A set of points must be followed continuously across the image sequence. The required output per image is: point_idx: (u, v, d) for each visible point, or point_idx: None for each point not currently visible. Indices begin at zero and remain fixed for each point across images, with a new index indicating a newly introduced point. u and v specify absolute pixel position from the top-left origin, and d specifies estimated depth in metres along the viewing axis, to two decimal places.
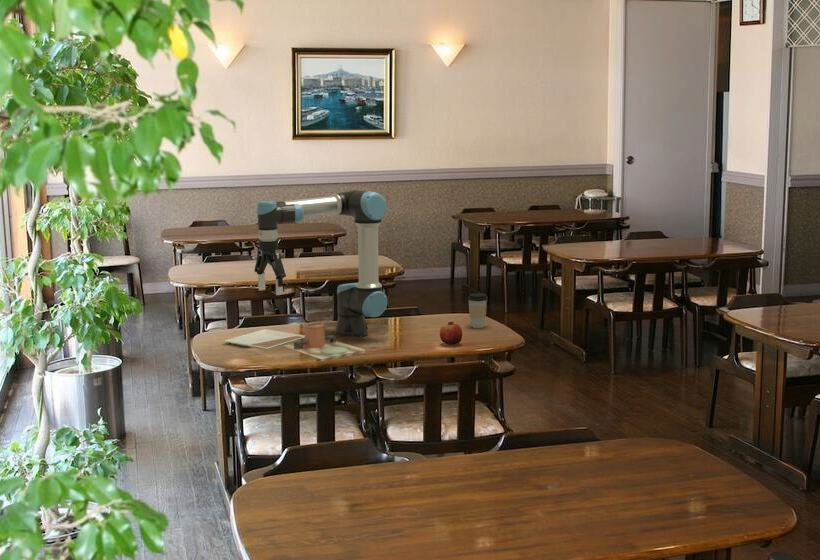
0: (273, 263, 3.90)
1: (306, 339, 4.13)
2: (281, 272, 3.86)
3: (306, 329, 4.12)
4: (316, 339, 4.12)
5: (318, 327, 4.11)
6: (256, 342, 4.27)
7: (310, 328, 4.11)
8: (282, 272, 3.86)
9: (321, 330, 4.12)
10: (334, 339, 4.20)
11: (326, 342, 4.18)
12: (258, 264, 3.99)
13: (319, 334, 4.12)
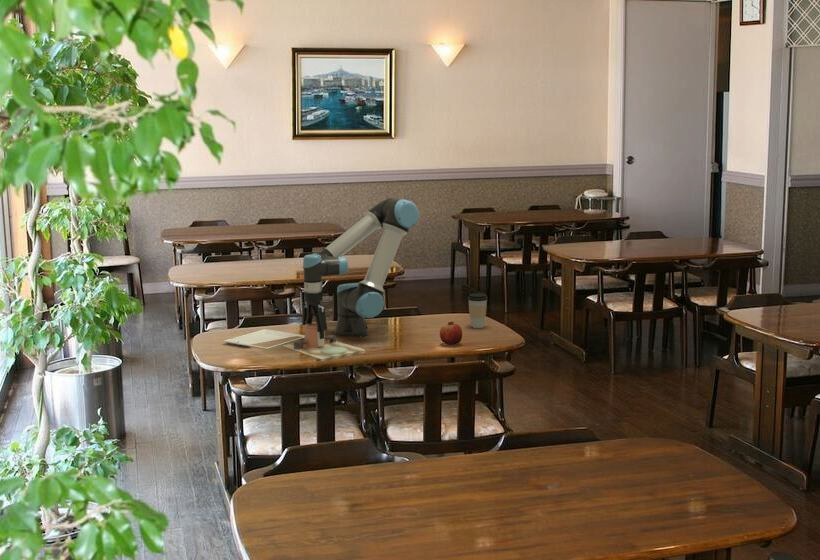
0: (317, 315, 4.11)
1: (306, 339, 4.13)
2: (323, 325, 4.09)
3: (306, 329, 4.12)
4: (316, 339, 4.12)
5: None
6: (256, 342, 4.27)
7: (310, 328, 4.11)
8: (324, 325, 4.09)
9: None
10: (334, 339, 4.20)
11: (326, 342, 4.18)
12: (305, 316, 4.18)
13: None
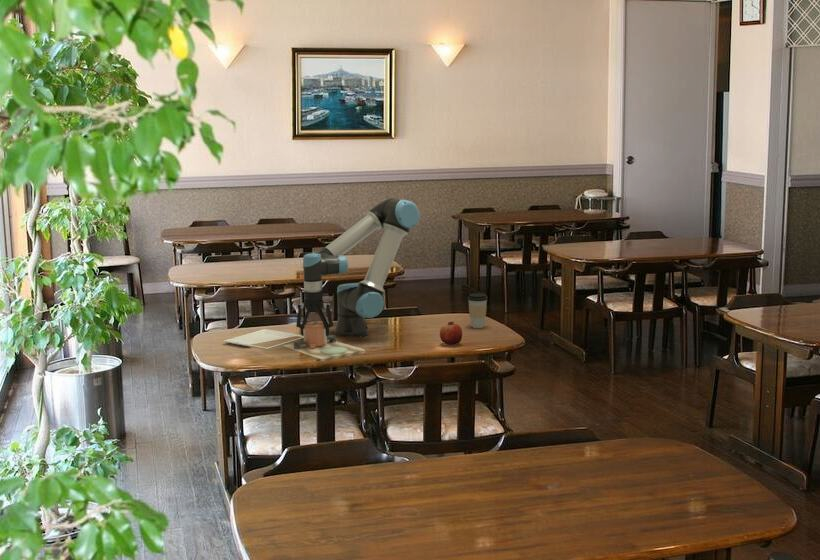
0: (321, 313, 4.13)
1: (312, 339, 4.12)
2: (331, 322, 4.13)
3: (312, 329, 4.11)
4: (323, 337, 4.13)
5: None
6: (256, 342, 4.27)
7: (318, 327, 4.11)
8: (332, 322, 4.14)
9: (324, 327, 4.15)
10: (334, 339, 4.20)
11: None
12: (300, 318, 4.14)
13: None
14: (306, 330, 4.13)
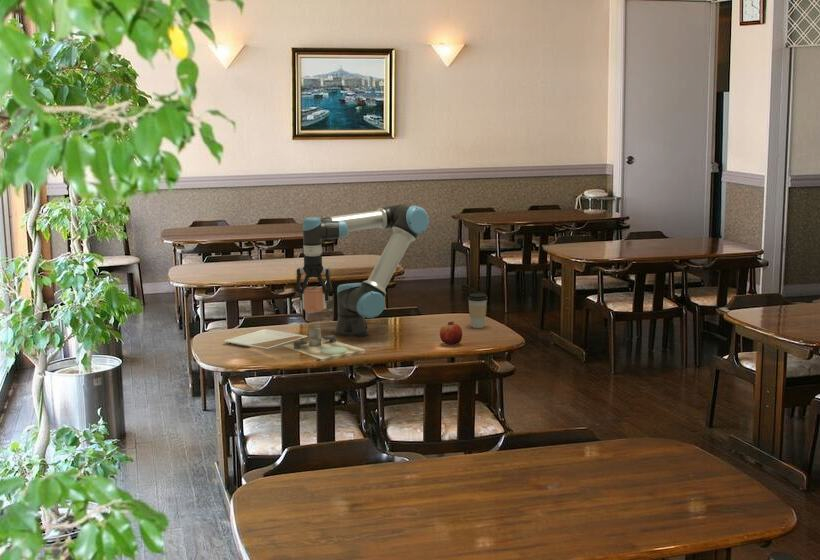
0: (321, 278, 4.09)
1: (311, 304, 4.08)
2: (331, 287, 4.10)
3: (311, 293, 4.08)
4: (322, 302, 4.10)
5: None
6: (256, 342, 4.27)
7: (317, 291, 4.08)
8: (331, 287, 4.10)
9: (323, 292, 4.12)
10: (334, 339, 4.20)
11: None
12: (299, 282, 4.11)
13: None
14: (305, 295, 4.10)
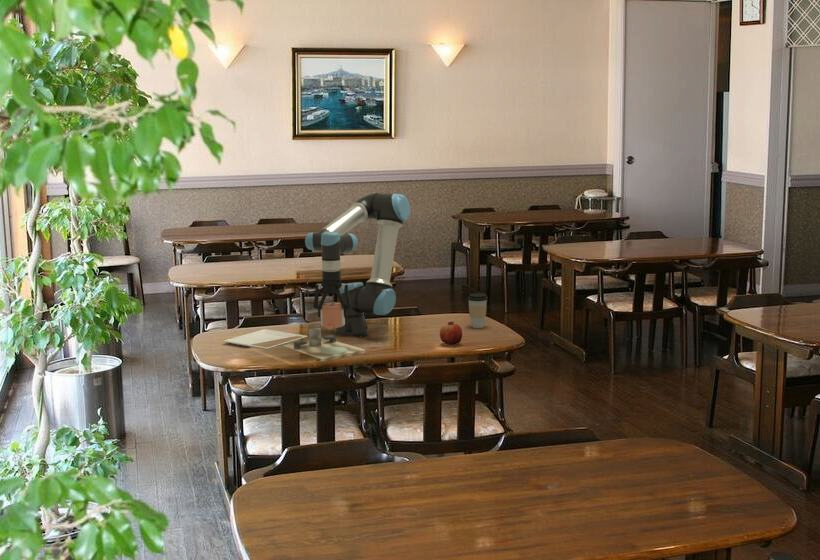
0: (339, 293, 4.00)
1: (329, 320, 3.99)
2: (350, 303, 4.01)
3: (330, 310, 3.98)
4: (341, 318, 4.01)
5: (341, 305, 4.01)
6: (256, 342, 4.27)
7: (336, 308, 3.98)
8: (350, 303, 4.01)
9: (342, 308, 4.03)
10: (334, 339, 4.20)
11: None
12: (317, 298, 4.01)
13: None
14: (323, 311, 4.00)
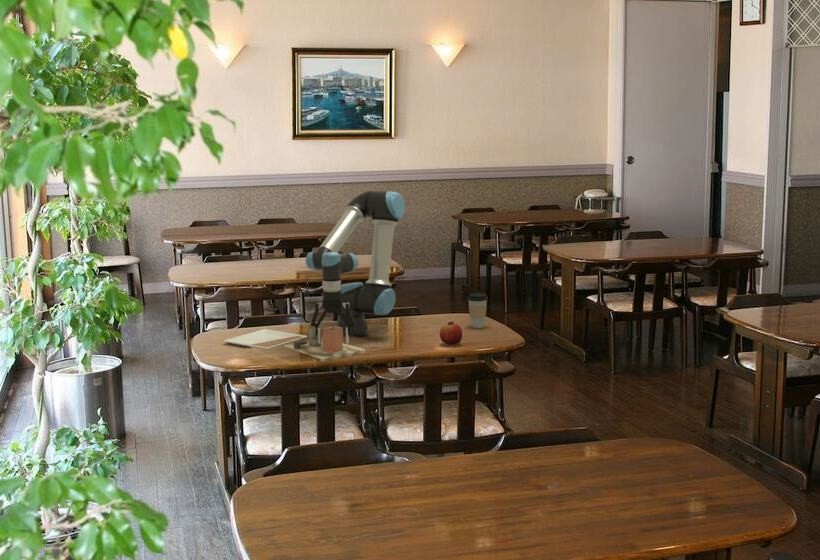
0: (341, 312, 4.02)
1: (330, 344, 4.01)
2: (353, 321, 4.02)
3: (330, 334, 4.00)
4: (341, 342, 4.03)
5: (342, 330, 4.03)
6: (256, 342, 4.27)
7: (336, 332, 4.00)
8: (353, 320, 4.02)
9: (342, 333, 4.04)
10: None
11: None
12: (316, 317, 4.03)
13: (342, 337, 4.04)
14: (324, 335, 4.02)
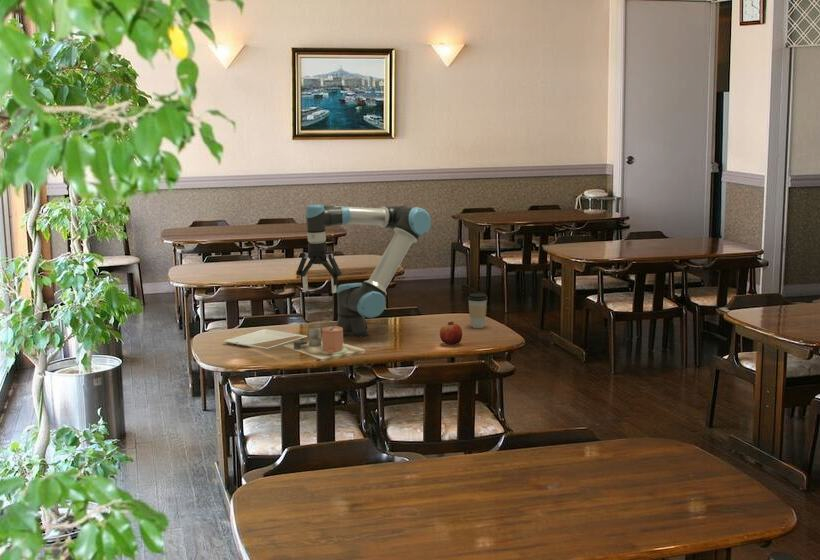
0: (326, 263, 4.08)
1: (330, 344, 4.01)
2: (338, 271, 4.07)
3: (330, 334, 4.00)
4: (341, 342, 4.03)
5: (342, 330, 4.03)
6: (256, 342, 4.27)
7: (336, 332, 4.00)
8: (338, 271, 4.07)
9: (342, 333, 4.04)
10: None
11: None
12: (301, 266, 4.13)
13: (342, 337, 4.04)
14: (324, 335, 4.02)
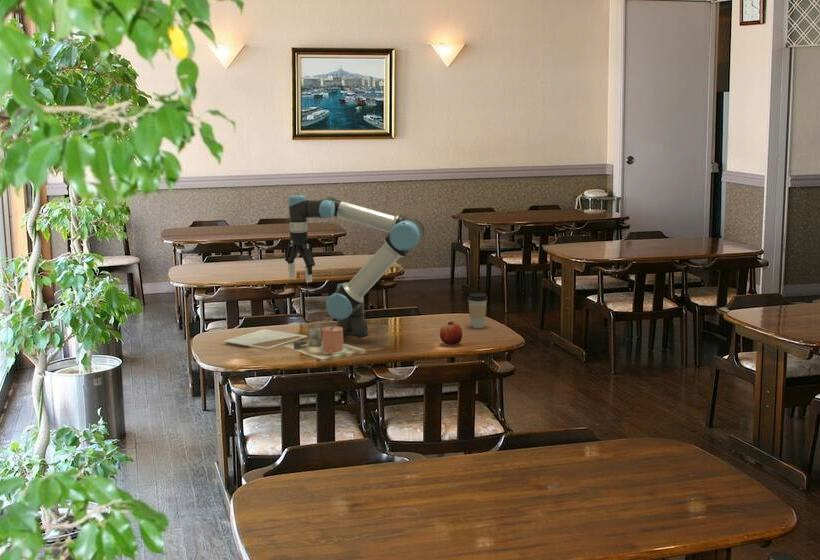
0: (303, 253, 4.21)
1: (330, 344, 4.01)
2: (311, 261, 4.17)
3: (330, 334, 4.00)
4: (341, 342, 4.03)
5: (342, 330, 4.03)
6: (256, 342, 4.27)
7: (336, 332, 4.00)
8: (312, 261, 4.18)
9: (342, 333, 4.04)
10: None
11: None
12: (288, 254, 4.30)
13: (342, 337, 4.04)
14: (324, 335, 4.02)
